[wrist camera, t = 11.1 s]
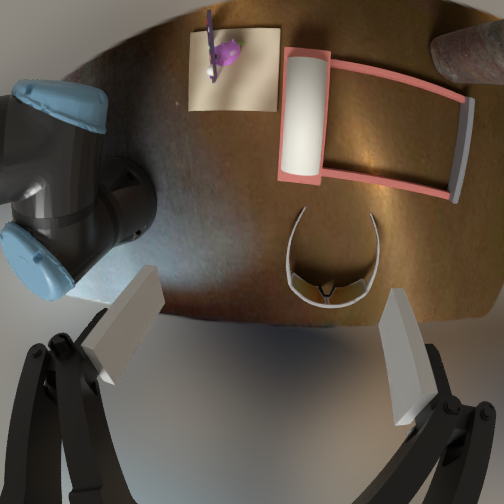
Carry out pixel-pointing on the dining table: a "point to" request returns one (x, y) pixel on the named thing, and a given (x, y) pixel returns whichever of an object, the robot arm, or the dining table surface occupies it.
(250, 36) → the plate
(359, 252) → the dining table surface
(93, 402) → the robot arm
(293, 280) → the sunglasses
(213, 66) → the purple toy
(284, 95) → the frame
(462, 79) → the brown stone cylinder
